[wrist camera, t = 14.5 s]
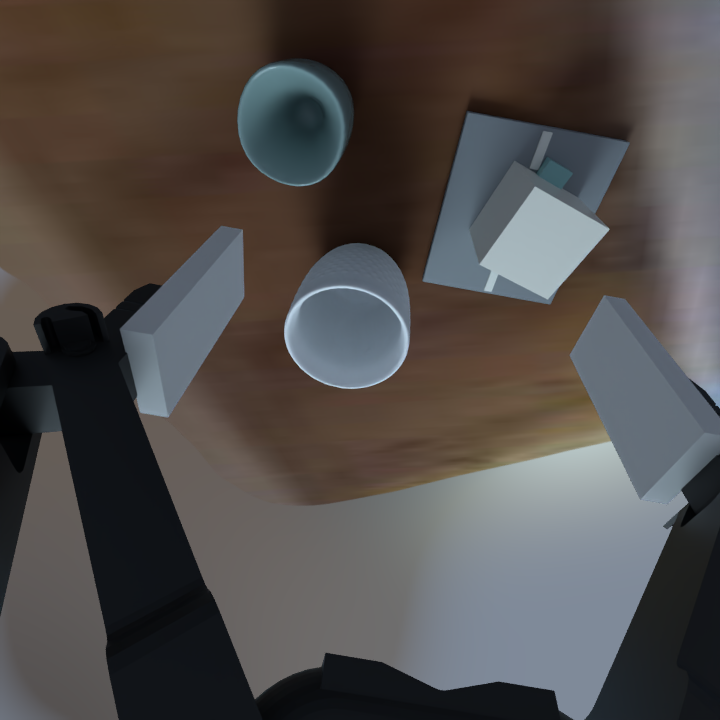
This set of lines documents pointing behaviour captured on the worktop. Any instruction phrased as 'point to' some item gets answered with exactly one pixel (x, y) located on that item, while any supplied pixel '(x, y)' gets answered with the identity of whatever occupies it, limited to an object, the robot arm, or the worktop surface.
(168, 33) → the worktop surface
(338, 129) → the cup
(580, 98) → the worktop surface
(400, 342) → the mug
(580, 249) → the grey cube
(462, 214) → the post plate
